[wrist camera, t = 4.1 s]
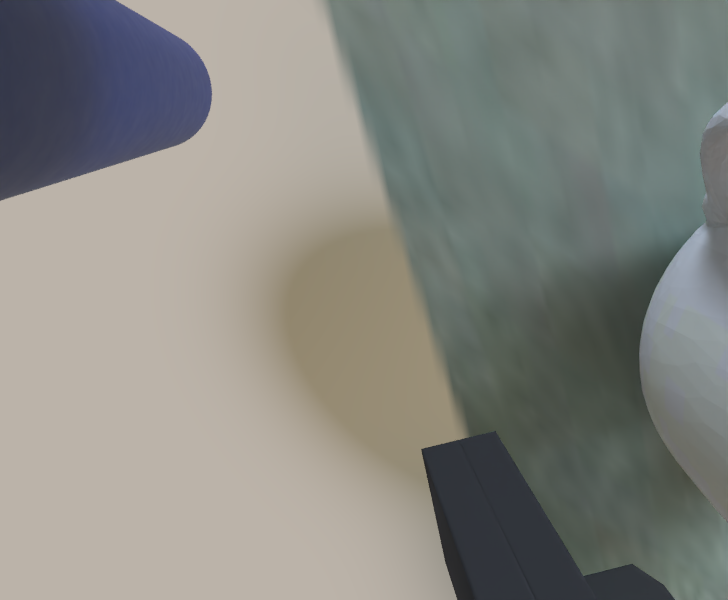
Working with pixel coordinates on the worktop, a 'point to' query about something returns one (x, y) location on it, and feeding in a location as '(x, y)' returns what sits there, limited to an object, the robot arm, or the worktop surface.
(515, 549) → the robot arm
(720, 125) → the teacup
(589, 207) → the worktop surface
